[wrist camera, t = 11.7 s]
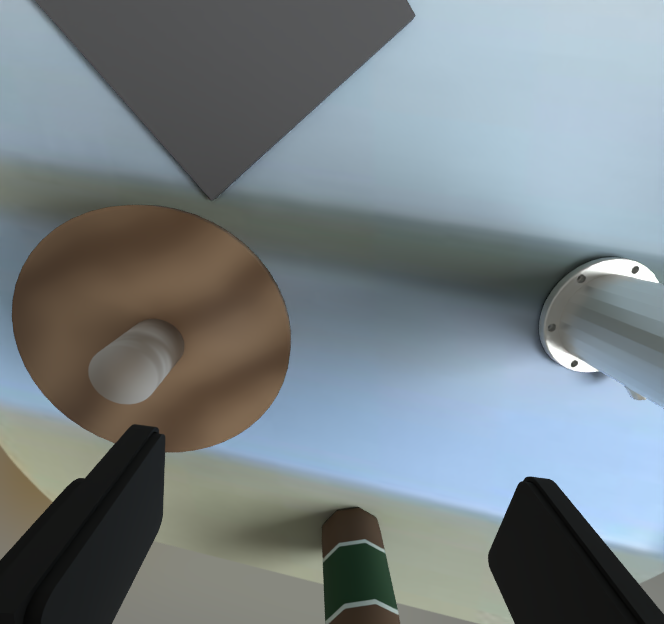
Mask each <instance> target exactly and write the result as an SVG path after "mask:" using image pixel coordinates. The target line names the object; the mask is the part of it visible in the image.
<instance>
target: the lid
mask: <svg viewBox="0 0 664 624" xmlns="http://www.w3.org/2000/svg"><path fill="white" fill-rule="evenodd" d="M12 322H13V331H14V336H15V340H16V344H17V347H18V351H19V353H20V356H21V358H22V360H23V363H24V365H25V367H26V369H27V371H28V372H29V374H30V376H31V377H32V379H33V381H34V382H35V384H36V385H37V386H38V388H39V389H40V390H41V392H42V393H43V394H44V395H45V396H46V397H47V398H48V400H49V401H50V402H51V403H52V404H53V405H54V406H55V407H56V408H57V409H58V410H60V411H61V412H62V413H63V414H64V415H66V416H67V417H68V418H69V419H71V420H72V421H74V422H75V423H77V424H78V425H79V426H81V427H82V428H84V429H86V430H88V431H90V432H91V433H93V434H95V435H97V436H99V437H101V438H104V439H106V440H109V441H111V442H113V443H116V442H117V441H118V440H119V439H120V437H121V436H122V435H123V434H124V433H125V432H126V430H127V429H128V428H129V427H130V426H131V425H133V424H138V425H145V426H153V427H157V428H158V429H159V434H164V435H165V452H185V451H193V450H198V449H202V448H207V447H211V446H213V445H216V444H219V443H222V442H224V441H226V440H228V439H230V438H232V437H234V436H236V435H238V434H240V433H241V432H243V431H244V430H246V429H247V428H249V427H250V426H251V425H252V424H253V423H255V422H256V421H257V420H258V419H259V418H260V417H261V416H262V415H263V414H264V413H265V411H266V410H267V409H268V408H269V407H270V405H271V404H272V402H273V401H274V399H275V398H276V396H277V395H278V393H279V390H280V388H281V386H282V384H283V382H284V379H285V375H286V372H287V369H288V363H289V356H290V349H291V330H290V322H289V316H288V312H287V309H286V305H285V302H284V299H283V297H282V295H281V292H280V290H279V288H278V285H277V284H276V282H275V280H274V279H273V277H272V275H271V274H270V272H269V271H268V269H267V268H266V267H265V265H264V264H263V263H262V262H261V260H260V259H259V258H258V257H257V256H256V255H255V254H254V253H253V252H252V251H251V250H250V249H249V248H248V247H247V246H246V245H245V244H244V243H243V242H241V241H240V240H239V239H238V238H236V237H235V236H234V235H232V234H231V233H230V232H228V231H227V230H225V229H223V228H222V227H220V226H218V225H216V224H215V223H213V222H211V221H209V220H206V219H204V218H202V217H200V216H197V215H195V214H192V213H188V212H185V211H182V210H178V209H174V208H168V207H162V206H155V205H124V206H114V207H107V208H102V209H98V210H94V211H90V212H87V213H85V214H82V215H80V216H77V217H75V218H72V219H71V220H69V221H67V222H65V223H64V224H62V225H60V226H59V227H57V228H56V229H54V230H53V231H52V232H51V233H50V234H48V235H47V236H46V237H45V238H44V239H42V241H41V242H40V243H39V244H38V245H37V246H36V248H35V249H34V250H33V251H32V252H31V254H30V255H29V257H28V259H27V260H26V262H25V264H24V265H23V267H22V269H21V272H20V274H19V277H18V280H17V282H16V286H15V291H14V296H13V302H12Z"/></svg>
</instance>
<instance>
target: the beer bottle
mask: <svg viewBox="0 0 664 624" xmlns="http://www.w3.org/2000/svg"><path fill="white" fill-rule="evenodd" d="M322 553H323V577H324V602H325V624H400V620H399V614H398V610H397V605H396V600H395V595H394V591H393V586H392V582H391V577H390V572H389V568H388V563H387V559H386V554H385V550H384V545H383V540H382V536H381V531H380V528H379V524H378V521H377V518H376V517H375V516H373V515H371V514H370V513H368V512H366V511H364V510H363V509H361V508H359V507H357V508H350V509H343V510H337V511H336V512H335V513H334V514H333V515H332V516H331V517H330V518H329V519H328V520H327V521H326V522H325V523H324V524H323V526H322Z"/></svg>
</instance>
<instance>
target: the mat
mask: <svg viewBox="0 0 664 624" xmlns="http://www.w3.org/2000/svg"><path fill="white" fill-rule="evenodd" d="M35 1H36V2H37V4H38V5H39V6H40V7H41V8H42V9H43V10H44V11H45V13H46V14H47V15H48V16H49V17H50V18H51V19H52V21H53V22H54V23H55V24H56V25H57V26H58V27H59V28H60V30H61V31H62V32H63V33H64V34H65V35H66V36H67V38H68V39H69V40H70V41H71V42H72V43H73V44H74V45H75V47H76V48H77V49H78V50H79V51H80V52H81V53H82V54H83V56H84V57H85V58H86V59H87V60H88V61H89V62H90V64H91V65H92V66H93V67H94V68H95V69H96V70H97V71H98V73H99V74H100V75H101V76H102V77H103V78H104V79H105V81H106V82H107V83H108V84H109V85H110V86H111V87H112V88H113V90H114V91H115V92H116V93H117V94H118V95H119V96H120V97H121V99H122V100H123V101H124V102H125V103H126V104H127V105H128V107H129V108H130V109H131V110H132V111H133V112H134V113H135V114H136V116H137V117H138V118H139V119H140V120H141V121H142V122H143V124H144V125H145V126H146V127H147V128H148V129H149V130H150V131H151V133H152V134H153V135H154V136H155V137H156V138H157V139H158V140H159V142H160V143H161V144H162V145H163V146H164V147H165V148H166V150H167V151H168V152H169V153H170V154H171V155H172V156H173V157H174V159H175V160H176V161H177V162H178V163H179V164H180V165H181V167H182V168H183V169H184V170H185V171H186V172H187V173H188V174H189V176H190V177H191V178H192V179H193V180H194V181H195V182H196V183H197V185H198V186H199V187H200V188H201V189H202V190H203V191H204V193H205V194H206V195H207V196H208V197H209V198H210V199H211V200H214V199H215V198H216V197H218V196H219V195H220V194H221V193H222V192H223V191H224V190H225V189H226V188H227V187H229V186H230V185H231V184H232V183H233V182H234V181H235V180H236V179H237V178H239V177H240V176H241V175H242V174H243V173H244V172H245V171H246V170H247V169H248V168H250V167H251V166H252V165H253V164H254V163H255V162H256V161H257V160H258V159H259V158H261V157H262V156H263V155H264V154H265V153H266V152H267V151H268V150H269V149H271V148H272V147H273V146H274V145H275V144H276V143H277V142H278V141H279V140H280V139H282V138H283V137H284V136H285V135H286V134H287V133H288V132H289V131H290V130H291V129H293V128H294V127H295V126H296V125H297V124H298V123H299V122H300V121H301V120H303V119H304V118H305V117H306V116H307V115H308V114H309V113H310V112H311V111H312V110H314V109H315V108H316V107H317V106H318V105H319V104H320V103H321V102H322V101H323V100H325V99H326V98H327V97H328V96H329V95H330V94H331V93H332V92H333V91H334V90H336V89H337V88H338V87H339V86H340V85H341V84H342V83H343V82H344V81H346V80H347V79H348V78H349V77H350V76H351V75H352V74H353V73H354V72H355V71H357V70H358V69H359V68H360V67H361V66H362V65H363V64H364V63H365V62H366V61H368V60H369V59H370V58H371V57H372V56H373V55H374V54H375V53H376V52H378V51H379V50H380V49H381V48H382V47H383V46H384V45H385V44H386V43H387V42H389V41H390V40H391V39H392V38H393V37H394V36H395V35H396V34H397V33H398V32H400V31H401V30H402V29H403V28H404V27H405V26H406V25H407V24H408V23H410V22H411V21H412V20H413V19H414V17H415V14H414V12H413V10H412V8H411V7H410V5H409V3H408V1H407V0H35Z"/></svg>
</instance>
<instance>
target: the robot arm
mask: <svg viewBox="0 0 664 624" xmlns="http://www.w3.org/2000/svg"><path fill="white" fill-rule="evenodd" d="M539 336H540V340H541V344H542V346H543V348H544V350H545V352H546V353H547V354H548V355H549V356H550V358H551V359H553V360H554V361H556V362H557V363H558V364H560V365H562V366H563V367H565V368H567V369H570V370H573V371H576V372H586V373H587V372H597V371H600V372H602V373H604V374H606V375H607V376H609V377H611V378H612V379H614V380H616V381H617V382H619V383H621V384H623V385H624V386H625V388H626V390H627V392H628V393H629V395H630V397H631V398H633V399H636V400H645V399H648V400H650V401H651V402H653V403H655V404H657V405H658V406H660V407H662V408H663V409H664V284H661V283H659V282H658V280H657V278H656V277H655V275H654V274H653V272H652V271H651V270H649V269H648V268H647V267H646V266H645V265H643V264H641V263H639V262H637V261H633V260H629V259H625V258H618V257H607V258H600V259H596V260H592V261H590V262H587V263H585V264H583V265H581V266H579V267H577V268H576V269H574V270H573V271H571V272H570V273H568V274H567V275H566V276H565V277H564V278H563V279H562V280H561V281H559V283H558V284H557V285H556V286H555V287H554V289H553V290H552V291H551V293H550V295H549V296H548V298H547V300H546V301H545V304H544V306H543V309H542V311H541V316H540V321H539ZM164 467H165V435H164V434H159V429H158V428H157V427H153V426H145V425H138V424H133V425H131V426H130V427H129V428H128V429H127V430H126V432H125V433H124V434H123V435H122V436H121V437H120V439H119V440H118V441H117V442H116V443H115V444H114V445H113V447H112V448H111V449H110V450H109V451H108V452H107V454H106V455H105V456H104V457H103V458H102V459H101V461H100V462H99V463H98V464H97V465H96V466H95V467H94V469H93V470H92V471H91V472H90V473H89V474H88V476H87V477H86V478H78V479H76V480H74V481H73V482H72V483H71V484H69V485H68V486H67V487H66V488H65V489H64V491H63V492H62V493H61V494H60V495H59V496H58V497H57V498H56V499H55V500H54V502H53V503H52V504H51V505H50V506H49V507H48V508H47V509H46V510H45V512H44V513H43V514H42V515H41V516H40V517H39V518H38V519H37V520H36V522H35V523H34V524H33V525H32V526H31V527H30V528H29V529H28V531H26V533H25V534H24V535H23V536H22V537H21V538H20V539H19V541H17V543H16V544H15V545H14V546H13V547H12V548H11V549H10V550H9V551H8V552H7V554H6V555H5V556H4V557H3V558H2V559H1V560H0V624H112V622H113V620H114V618H115V616H116V614H117V612H118V610H119V608H120V606H121V604H122V602H123V600H124V598H125V596H126V594H127V593H128V591H129V589H130V587H131V585H132V583H133V580H134V579H135V577H136V574H137V573H138V571H139V569H140V567H141V565H142V563H143V561H144V559H145V557H146V555H147V553H148V551H149V549H150V547H151V545H152V543H153V541H154V539H155V537H156V535H157V533H158V531H159V528H160V525H161V522H162V517H163V495H164ZM488 562H489V567H490V569H491V572H492V574H493V576H494V579H495V581H496V583H497V585H498V587H499V590H500V592H501V594H502V596H503V598H504V601H505V603H506V605H507V607H508V609H509V612H510V614H511V616H512V618H513V621H514V623H515V624H664V614H663V613H662V612H661V611H660V609H659V608H658V607H657V606H656V605H655V603H654V602H653V601H652V600H651V598H650V597H649V596H648V595H647V594H646V592H645V591H644V590H643V589H642V588H641V586H640V585H639V584H638V583H637V581H636V580H635V579H634V578H633V577H632V575H631V574H630V573H629V572H628V570H627V569H626V568H625V567H624V566H623V564H622V563H621V562H620V561H619V560H618V558H617V557H616V556H615V555H614V553H613V552H612V551H611V550H610V549H609V547H608V546H607V545H606V544H605V543H604V541H603V540H602V539H601V538H600V536H599V535H598V534H597V533H596V532H595V530H594V529H593V528H592V527H591V526H590V524H589V523H588V522H587V521H586V519H585V518H584V517H583V516H582V515H581V513H580V512H579V511H578V510H577V509H576V507H575V506H574V505H573V504H572V502H571V501H570V500H569V499H568V498H567V496H566V495H565V494H564V493H563V492H562V490H561V489H560V488H559V487H558V485H557V484H556V483H555V482H554V481H552V480H550V479H545V478H537V477H526V478H525V479H524V481H523V482H520V483H519V484H518V486H517V488H516V491H515V493H514V495H513V498H512V500H511V502H510V505H509V507H508V509H507V511H506V514H505V516H504V518H503V521H502V523H501V525H500V528H499V530H498V532H497V535H496V537H495V539H494V542H493V544H492V546H491V549H490V551H489V554H488Z"/></svg>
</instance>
